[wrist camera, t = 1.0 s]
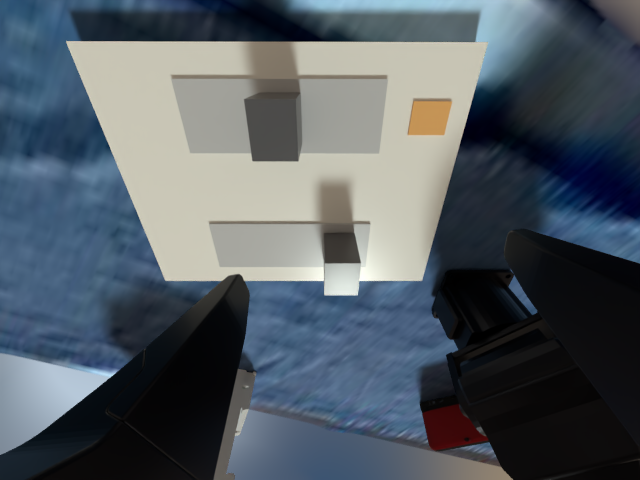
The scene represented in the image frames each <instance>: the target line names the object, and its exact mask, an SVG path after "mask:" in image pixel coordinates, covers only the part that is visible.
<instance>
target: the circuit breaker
mask: <svg viewBox="0 0 640 480" xmlns="http://www.w3.org/2000/svg"><path fill="white" fill-rule="evenodd" d="M246 371H247V370H242V369H238V371H237V376H236V380H235V385H234V389H233V394H232V398H231V403H230V407H229V412H228V416H227V421H226V425H225V430H224V435H223V439H222V444H221V448H220V453H219V457H218V462H217V466H216V471H215V475H214V480H234V478H235V475H234V474H232V473H228V474H226V471H227V467H228V463H229V459H230V454H231V450H232V446H233V441H234V437H235V436H237V435H240V432H241V429H242V426H243V424H244V421H245V418H246V415H247V413H248V410H249V406H250V401H251V396H252V391H253V386H254V381H255V376H256V372H253V373H250V372H246Z"/></svg>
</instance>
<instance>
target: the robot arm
mask: <svg viewBox="0 0 640 480" xmlns="http://www.w3.org/2000/svg"><path fill="white" fill-rule="evenodd" d="M504 257H505V260H506V261H507V263H508V265H509V267H510V268H511V270H512V272H513V273H514V274H513V273H512V272H511V271H510V270H449V271H447V272H446V273H445V276H444V279H443V281H442V284H441V287H440V289H439V290H438V293H437V296H436V299H435V302H434V305H433V307H434V308H433V311H432V314H433V317H434V318H439V320H440V322H441V324H442V326H443V329H444V331H445V333H446V335H447V337H448V338H449V339H451V340H454V342H455V344H456V346H457V348H458V351H456V352H453V353H452V352H451V353H449V354H447V355H446V357H447V360H448V367H449V371H450V374H451V378H452V381H453V385H454V389H455V392H456V396H457V399H458V402H459V408H460V411H461V413H462V414H463V415H464V416H466V417H467V418H469V419H470V421H471V422H472V424H473V425H474V426H475V428H476V429H477V430H478V431H479V432H480V433H481V434H482V435H483V436H486V437H487V438H488V440H489V442H490V444H491V446H492V448H493V450H494V452H495V455H496V457H497V459H498V461H499V463H500V465H501V467H502V468H503V470H504V471H506V473H507V474H508V475H509V476H510V477H511V478H512V479H513V480H640V264H639V263H636V262H633V261H629V260H626V259H623V258H619V257H616V256H613V255H610V254H606V253H603V252H600V251H596V250H593V249H590V248H586V247H583V246H580V245H576V244H573V243H570V242H566V241H563V240H560V239H556V238H553V237H550V236H546V235H543V234H540V233H537V232H533V231H530V230H527V229H519V230H513V231H510V232H509V233H508V235H507V239H506V243H505V248H504ZM450 275H451V276H450ZM514 275H515V277H516V279H517V280H518V282H519V284H520V285H521V287H522V289H523V291H524V292H525V294H526V295H527V297H528V298H529V300H530V301H531V303H532V304H533V305H534V307H535V308H536V309H537V312H538V313H536V314H534V315H532V314H531V313H530V312H529V311H528V310H527V308H526V307H525V306H524V305H523V304H522V303H521V301H520V300H519V299H518V298H517V297H516V296H515V294H514V293H513V292H512V291H511V290H510V289H509V287H508V286H509V284H510V282H511V280H512V278H513V277H514ZM249 297H250V295H249V290H248V288H247V286H246V283H245V281H244V279H243V277H242V276H241V275H240V274H234V275H229V276H227V277H226V278H225V279H224V280H223V281H222V282H220V283H219V284H218V285H217V286H216V287H215V288H214V289H212V290H211V291H210V292H209V293H208V294H207V295H206V296H204V297H203V298H202V299H201V300H200V301H199V302H197V303H196V304H195V305H194V306H193V307H192V308H191V309H189V310H188V311H187V312H186V313H185V314H184V315H183V316H181V317H180V318H179V319H178V320H177V321H176V322H175V323H173V324H172V325H171V326H170V327H169V328H168V329H167V330H165V331H164V332H163V333H162V334H161V335H160V336H159V337H157V338H156V339H155V340H154V341H153V342H152V343H150V344H149V345H148V346H147V347H146V349H144V350H142V351H141V352H140V353H139V354H138V355H137V356H136V357H134V358H133V359H132V360H131V361H130V362H129V363H127V364H126V365H125V366H124V367H123V368H121V369H120V370H119V371H118V372H117V373H116V374H114V375H113V376H112V377H111V378H109V379H108V380H107V381H106V382H104V383H103V384H102V385H101V386H99V387H98V388H97V389H96V390H94V391H93V392H92V393H90V394H89V395H88V396H87V397H85V398H84V399H83V400H82V401H81V402H79V403H78V404H76V405H75V406H74V407H73V408H71V409H70V410H69V411H68V412H66V413H65V414H64V415H63V416H61V417H60V418H59V419H57V420H56V421H55V422H54V423H52V424H51V425H50V426H49V427H47V428H46V429H45V430H43V431H42V432H41V433H39V434H38V435H36V436H35V437H33V438H32V439H30V440H29V441H27V442H25V443H24V444H22V445H20V446H18V447H16V448H14V449H12V450H10V451H8V452H6V453H4V454H2V455H0V480H214V475H215V471H216V466H217V462H218V457H219V453H220V448H221V444H222V439H223V435H224V430H225V425H226V421H227V416H228V412H229V407H230V403H231V398H232V394H233V389H234V385H235V380H236V376H237V371H238V367H239V362H240V358H241V353H242V349H243V344H244V340H245V334H246V326H247V316H248V307H249Z"/></svg>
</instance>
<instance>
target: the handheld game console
mask: <svg viewBox="0 0 640 480" xmlns="http://www.w3.org/2000/svg"><path fill="white" fill-rule="evenodd" d="M420 408H421V411H422V415H423V419H424V424H425V429H426V433H427V438H428V442H429V446H430V448H431V449H432V450H434V451H445V450H450V449H455V448H461V447H466V446H471V445H477V444H482V443H487V442H489V440H488V438H487V437H486V436H483V435H482V434H481V433H480V432H479V431H478V430H477V429H476V428H475V426H474V425H473V424H472V422H471V421H470V419H469V418H467V417H466V416H464V415H463V414H462V413H461V411H460V408H459V402H458V399H457V396H456V395H455V396H448V397H444V398H439V399H435V400H431V401H425V402H422V403H420Z"/></svg>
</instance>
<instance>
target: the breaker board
mask: <svg viewBox="0 0 640 480" xmlns="http://www.w3.org/2000/svg"><path fill="white" fill-rule="evenodd" d="M66 43H67V45H68V48H69V50H70V52H71V55H72V57H73V60H74V62H75V64H76V67H77V69H78V72H79V74H80V76H81V79H82V81H83V84H84V86H85V88H86V91H87V93H88V96H89V98H90V101H91V103H92V105H93V108H94V110H95V113H96V115H97V117H98V120H99V122H100V125H101V127H102V129H103V132H104V134H105V137H106V139H107V141H108V144H109V146H110V149H111V151H112V153H113V156H114V158H115V161H116V163H117V165H118V168H119V170H120V173H121V175H122V177H123V180H124V182H125V185H126V187H127V189H128V192H129V194H130V197H131V199H132V201H133V204H134V206H135V209H136V211H137V213H138V216H139V218H140V221H141V223H142V225H143V228H144V230H145V233H146V235H147V237H148V240H149V242H150V245H151V247H152V249H153V252H154V254H155V257H156V259H157V261H158V264H159V266H160V269H161V271H162V274H163V276H164V278H165V281H223V280H224V279H225V278H226V277H227V276H229V275H234V274H240V275H241V276H242V277H243V279H244V281H324V233H355V237H356V242H357V246H358V251H359V256H360V260H361V269H360V279H359V281H422V279H423V275H424V272H425V268H426V264H427V261H428V257H429V254H430V250H431V246H432V243H433V239H434V236H435V232H436V228H437V225H438V221H439V218H440V214H441V210H442V207H443V203H444V200H445V196H446V192H447V189H448V185H449V182H450V178H451V174H452V171H453V167H454V164H455V160H456V156H457V153H458V149H459V146H460V142H461V138H462V135H463V131H464V128H465V124H466V120H467V117H468V113H469V110H470V106H471V102H472V99H473V95H474V92H475V88H476V84H477V81H478V77H479V74H480V70H481V66H482V63H483V59H484V56H485V52H486V48H487V45H488V42H142V41H66ZM259 92H301V116H302V148H301V152H300V157H299V161H252V155H251V148H250V140H249V133H248V126H247V118H246V111H245V104H244V99H245V98H248V97H250V96H252V95H255V94H257V93H259Z"/></svg>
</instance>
